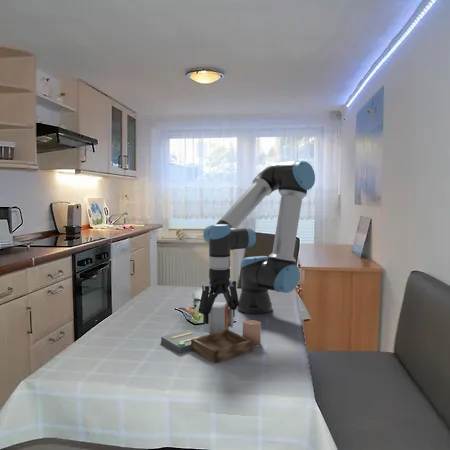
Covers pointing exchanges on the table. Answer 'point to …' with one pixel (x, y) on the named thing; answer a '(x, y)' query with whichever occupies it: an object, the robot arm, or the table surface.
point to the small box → (219, 317)
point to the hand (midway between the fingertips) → (219, 329)
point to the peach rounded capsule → (252, 331)
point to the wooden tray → (221, 345)
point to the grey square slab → (180, 340)
